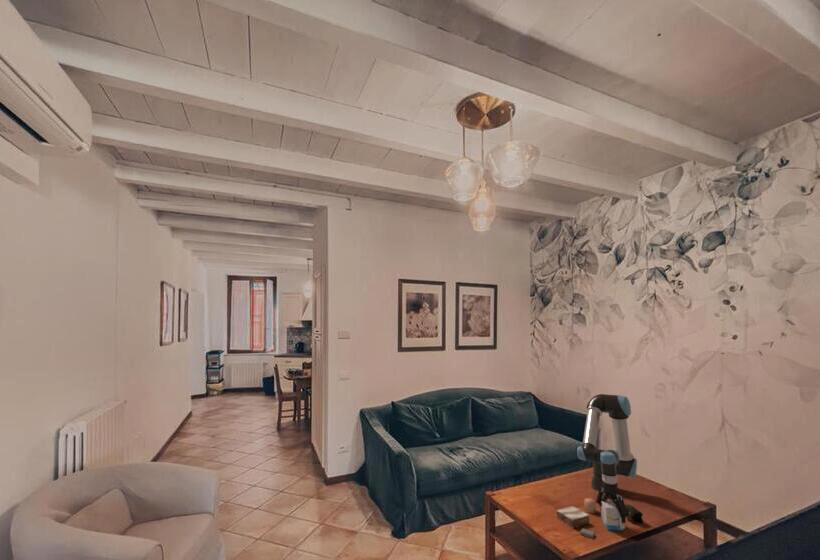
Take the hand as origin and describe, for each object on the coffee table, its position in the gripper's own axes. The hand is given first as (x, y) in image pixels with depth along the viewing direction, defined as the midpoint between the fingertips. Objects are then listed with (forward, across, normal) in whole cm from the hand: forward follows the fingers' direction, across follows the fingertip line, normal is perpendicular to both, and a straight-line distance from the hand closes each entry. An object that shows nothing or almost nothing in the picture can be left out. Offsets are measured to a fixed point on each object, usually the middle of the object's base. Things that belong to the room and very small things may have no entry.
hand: (612, 523), depth 213 cm
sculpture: (+2, -2, +17) cm, 17 cm away
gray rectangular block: (+2, 0, -19) cm, 19 cm away
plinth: (+2, -14, -15) cm, 21 cm away
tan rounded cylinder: (+2, -18, +3) cm, 18 cm away
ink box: (+2, 0, 0) cm, 2 cm away
